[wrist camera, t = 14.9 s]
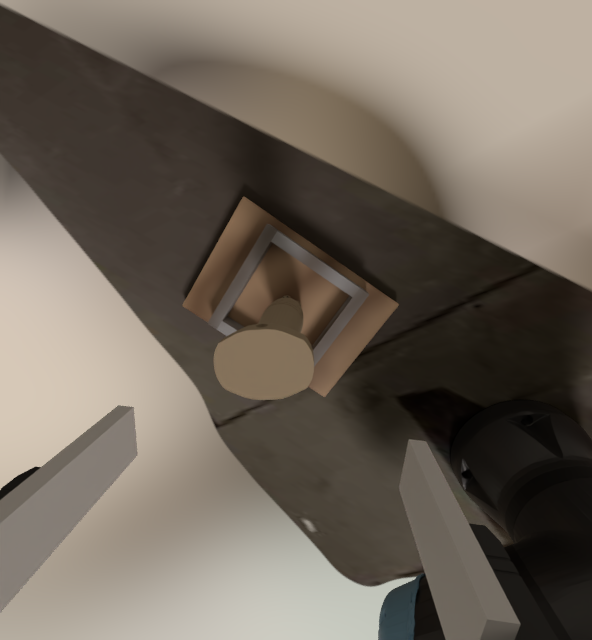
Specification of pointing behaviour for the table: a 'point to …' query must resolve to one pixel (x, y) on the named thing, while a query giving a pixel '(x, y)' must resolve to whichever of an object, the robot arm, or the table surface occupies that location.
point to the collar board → (288, 290)
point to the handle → (267, 355)
